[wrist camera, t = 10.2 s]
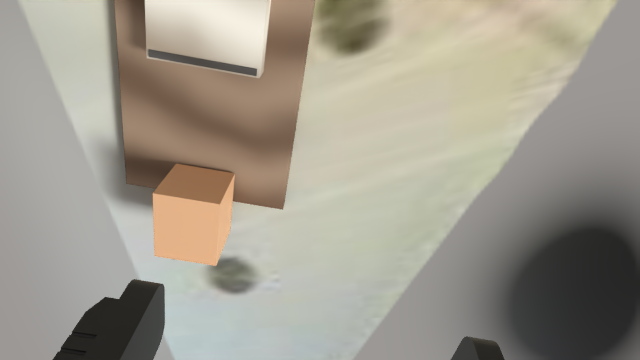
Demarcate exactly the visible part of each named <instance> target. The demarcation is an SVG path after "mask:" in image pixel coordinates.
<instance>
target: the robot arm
mask: <svg viewBox="0 0 640 360" xmlns="http://www.w3.org/2000/svg"><path fill="white" fill-rule="evenodd" d="M164 324H165V300H164V285H163V284H159V283H153V282H147V281H141V280H135V279H134V280H132V281H131V282H130V283H129V284H128V286H127V288H126V289H125V291H124V292H123V294H122V295H121V297H120V299H114V298H108V297H105V298H104V299H102V300H101V301H100V302H99V303H97V304H96V305H94V306H93V307H92V308H90V309H89V310H88V311H86V312H85V314H84V315H83V317H82V318H81V319H80V321H79V322H78V324H77V325H76V327H75V328H74V330H73V331H72V334H71V335H69V337H68V338H67V340H66V341H65V343H64V344H63V346H62V347H61V350H60V352H58V353H57V354H56V356H55V357H54V359H53V360H153V358H154V356H155V354H156V351H157V350H158V347H159V345H160V342H161V339H162V335H163V331H164ZM451 360H504V357H503V355H502V353H501V350H500V347H499V346H498V344H497V343H496V342H494V341H491V340H485V339H478V338H473V337H464V338H463V339H462V341H461V343H460V345H459V346H458V348H457V350H456V352H455V354H454V355H453V357H452V359H451Z"/></svg>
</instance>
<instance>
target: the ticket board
mask: <svg viewBox="0 0 640 360" xmlns="http://www.w3.org/2000/svg"><path fill="white" fill-rule="evenodd" d="M114 3H115V18H116V33H117V48H118V63H119V78H120V93H121V108H122V123H123V138H124V153H125V168H126V183H127V184H132V185H138V186H144V187H150V188H157V187H158V186H159V185H160V183H161V182H162V181H163V180H164V178H165V177H166V176H167V175H168V173H169V172H170V171H171V170H172V168H173V167H174V166H175V165H176V164H182V165H188V166H194V167H200V168H206V169H212V170H217V171H223V172H229V173H235V178H234V191H233V201H235V202H241V203H247V204H253V205H259V206H265V207H271V208H277V209H283V207H284V202H285V195H286V189H287V182H288V176H289V169H290V162H291V156H292V149H293V143H294V136H295V130H296V123H297V116H298V110H299V103H300V97H301V90H302V83H303V77H304V70H305V64H306V57H307V51H308V44H309V37H310V31H311V24H312V18H313V11H314V4H315V0H114Z"/></svg>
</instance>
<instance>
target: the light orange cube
mask: <svg viewBox="0 0 640 360" xmlns="http://www.w3.org/2000/svg"><path fill="white" fill-rule="evenodd" d="M234 178H235V173H229V172H223V171H217V170H212V169H206V168H200V167H194V166H188V165H182V164H176V165H175V166H174V167H173V168H172V170H171V171H170V172H169V173H168V175H167V176H166V177H165V178H164V180H163V181H162V182H161V183H160V185H159V186H158V187H157V188H156V190H155V191H154V192H153V220H154V252H155V256H157V257H164V258H170V259H176V260H183V261H189V262H195V263H202V264H208V265H215V266H216V265H217V262H218V260H219V257H220V255H221V252H222V250H223V247H224V245H225V242H226V240H227V237H228V235H229V232H230V228H231V216H232V203H233V191H234Z"/></svg>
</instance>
